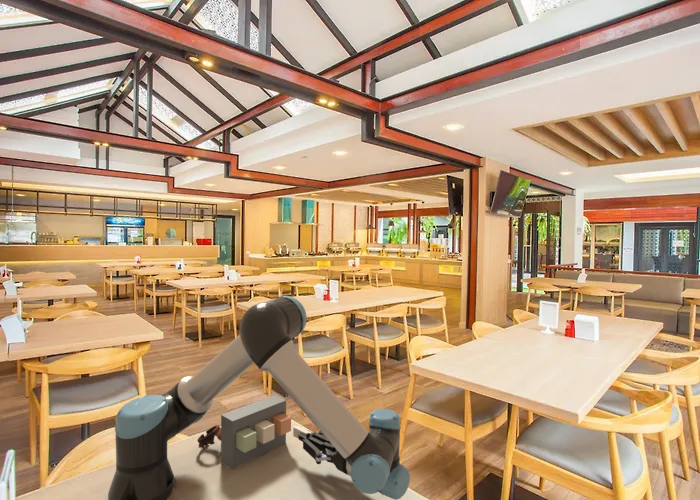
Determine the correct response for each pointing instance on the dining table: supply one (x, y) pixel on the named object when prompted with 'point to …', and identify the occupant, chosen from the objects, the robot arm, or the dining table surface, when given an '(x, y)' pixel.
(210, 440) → the pottery mug
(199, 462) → the dining table surface
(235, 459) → the console
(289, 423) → the terracotta button
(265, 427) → the ivory button
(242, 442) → the sage button
